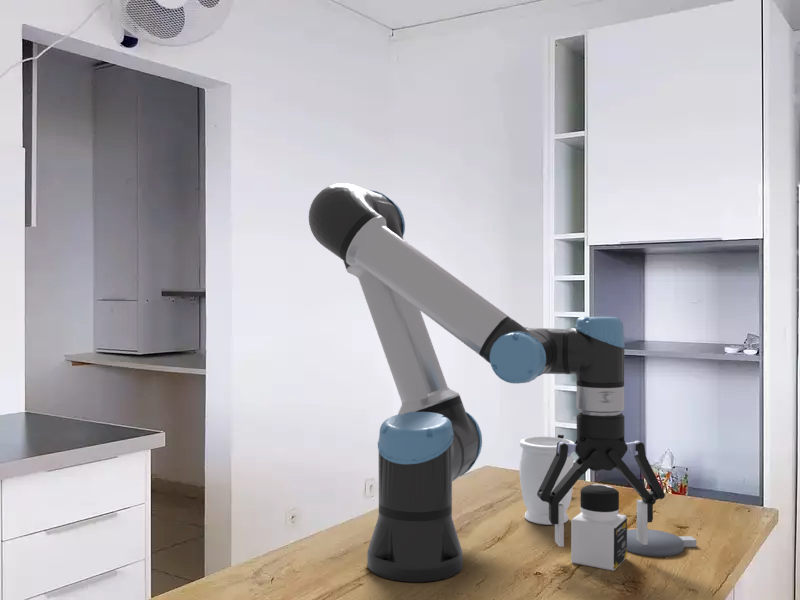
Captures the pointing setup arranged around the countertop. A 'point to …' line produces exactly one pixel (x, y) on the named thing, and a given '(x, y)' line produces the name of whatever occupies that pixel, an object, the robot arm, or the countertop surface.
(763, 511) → the countertop surface
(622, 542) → the medicine bottle
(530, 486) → the jar
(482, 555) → the countertop surface
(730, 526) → the countertop surface
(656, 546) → the pad
